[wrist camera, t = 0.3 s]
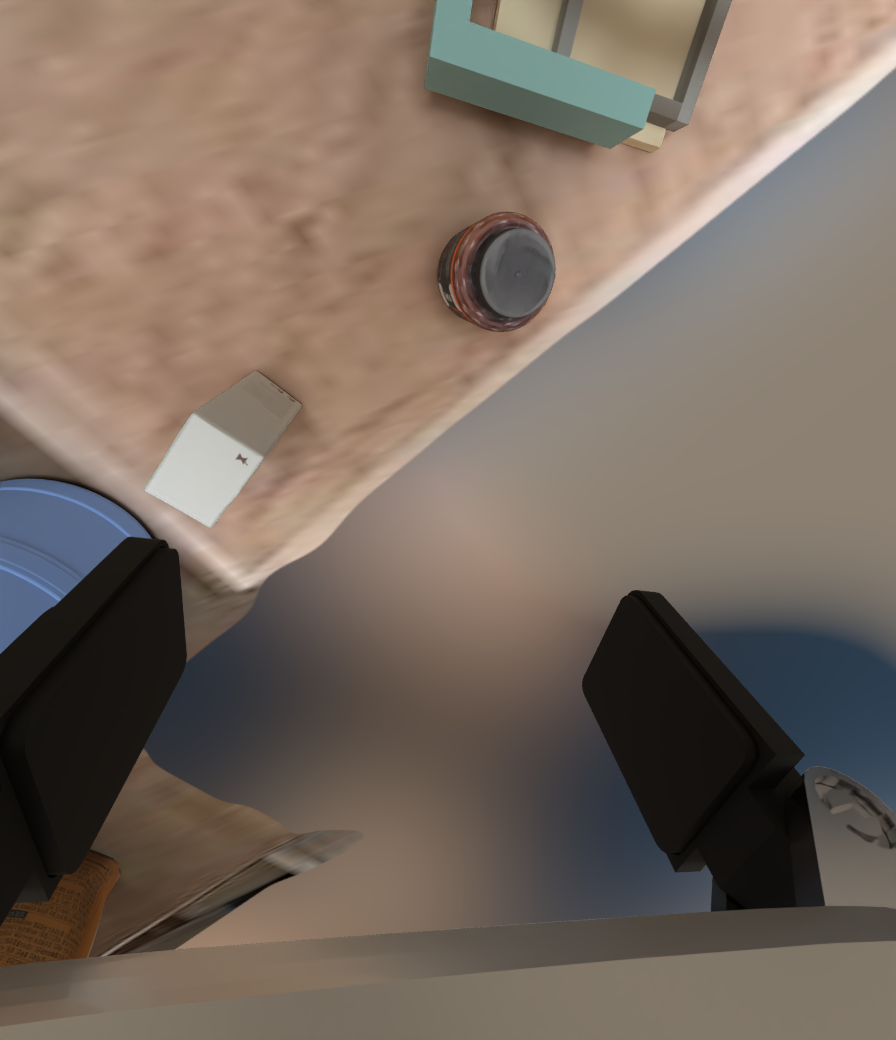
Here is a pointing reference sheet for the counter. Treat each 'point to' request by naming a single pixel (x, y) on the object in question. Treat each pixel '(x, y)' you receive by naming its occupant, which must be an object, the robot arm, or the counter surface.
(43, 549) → the water jug
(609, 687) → the robot arm
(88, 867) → the pancake mix bag
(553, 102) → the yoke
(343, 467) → the counter surface
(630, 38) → the housing base
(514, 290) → the supplement bottle
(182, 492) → the skincare box
